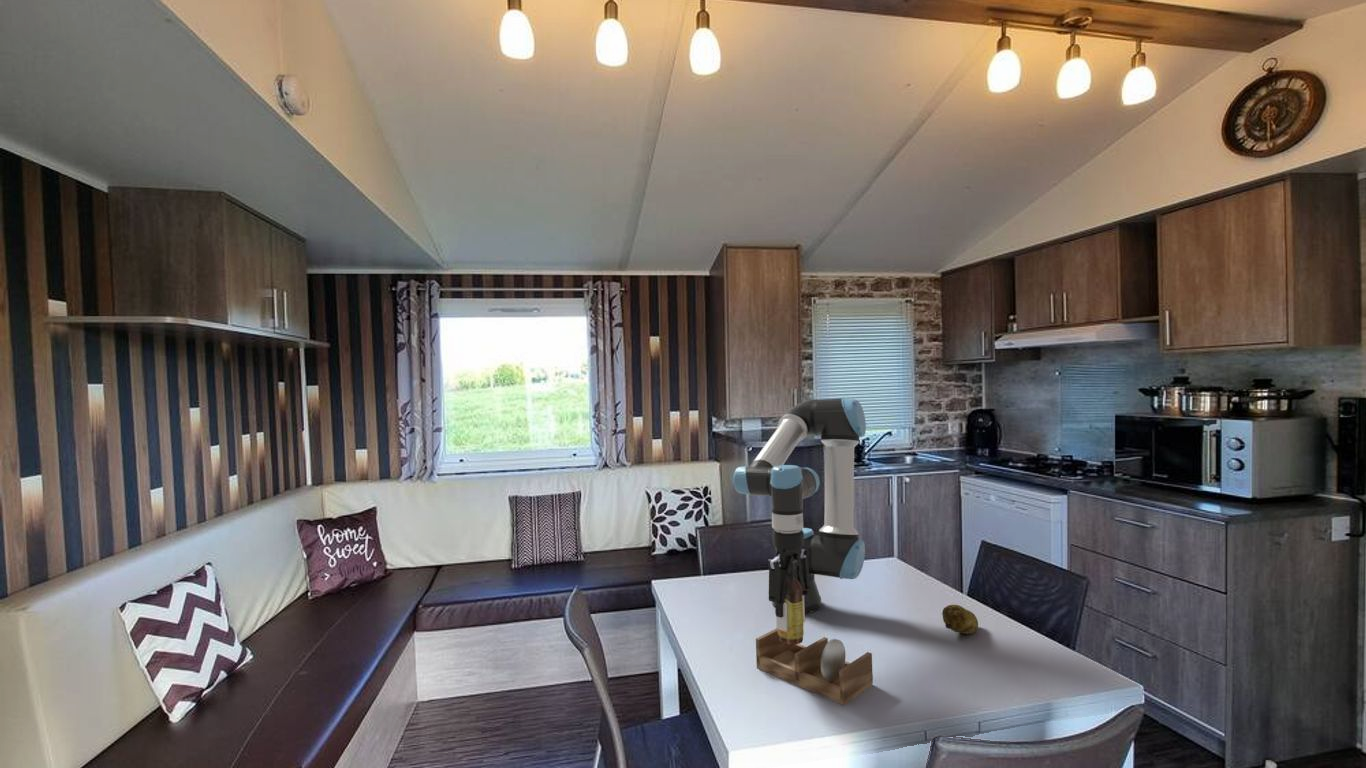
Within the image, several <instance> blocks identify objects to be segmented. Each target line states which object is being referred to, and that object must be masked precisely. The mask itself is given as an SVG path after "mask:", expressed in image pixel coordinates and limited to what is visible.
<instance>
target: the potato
mask: <svg viewBox="0 0 1366 768" xmlns="http://www.w3.org/2000/svg"><path fill="white" fill-rule="evenodd" d="M941 615H942V621H943V623H944V625H945V628H946V629H950V630H951V631H953V632H955V633H960V634H963V635H972V634H974V633H975V632H976V631H977V630H978V628H979V621H978V618H977V616H976V615H975V613H973V612H972V611H971V610H968V609H966V608H964V607H962V606H961V605H958V604H949V605H947V606H945V607H943V610H942V613H941Z"/></svg>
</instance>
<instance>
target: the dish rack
mask: <svg viewBox="0 0 1366 768" xmlns="http://www.w3.org/2000/svg"><path fill="white" fill-rule="evenodd" d="M778 636H779V635H778V629H777V627H776V628H774V629H773V630H770V631H768V632H766V633H764V634H762V635H760V636H758V637H755V647H756V648H755V651H756V652H755V653H756V656H755V657H756V668H757V669H758V670H761V671H763V672H766V673H768V674H770V675H773V676H775V677H777V678H779V679H782V680H785V681H786V682H789V683H790V684H791V683H792V684H794V685H795V686H798V687H800V688H803V689H805V690H808V691H810V692H812V693H814V694H816V695H819V696H822V697H824V698H826V699H828V700H831V701H832V702H835V703H837V704H840V705H843V706H846V705H847V704H849V703H850V702H851V701H853V700H854V699H856V698H857V697H858V696H859V695H861V694H863V692H865V691H866V690H867V689H869V688H871V686H873V684H874V679H873V678H874V677H873V675H874V674H873V653H872V652H869V651H867V652H865V653H864V654H862V655H861V656H859V657H858V658H857V659H854V660H853V661H852V662H849V661H847V660H846V648H845V645H844V643H843V642H842V641H841V640H840V639H836V638H832V639H830V640H828V639H829V638H827V637H825V636H824V637H822V638H820V639H818V640H816V641H815V642H813V643H811V644H808V645H807V646H806V645H802V644H801V643H800V644H796V645H789V644H788V645H787V644H784V643H783V642H781V641H780V640H779V638H778Z"/></svg>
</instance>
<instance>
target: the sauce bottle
mask: <svg viewBox="0 0 1366 768" xmlns="http://www.w3.org/2000/svg"><path fill="white" fill-rule="evenodd" d="M797 566H798V561H797V560H796V559H794V561H793V562H792V563H791V574H790V575H789V576H788V582H787V589H786V595H785V603H787V620H788V631H786V632H785V631H782V630H780V629H778V635H779V636H778V638H779V640H780V641H781V642H783V643H784V644H787V645H788V644H789V645H796V644H800V645H801V643H803V640H804V635H805V634H804V633H805V631H804V623H803V598H802V586H801V584H800V582H799V581H798V579H797V577H798V576H797ZM782 570H785V571H786V570H787V569H782Z"/></svg>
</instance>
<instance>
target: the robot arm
mask: <svg viewBox="0 0 1366 768" xmlns="http://www.w3.org/2000/svg"><path fill="white" fill-rule="evenodd" d="M865 416H866V415H865V413H864V410H863V406H862V404H861V403H860V401H858V399H856V398H855V399H853V398H844V397H843V398H824V399H823V398H822V399H817V398H816V399H815V398H814V399H807V400H804V401H802V402H799V403H797V404H796V405H794V406H792V407H791V408H790V409H788V410H787V411H786V412H785V413H784V414H783V415H781V417H780V418H779V420H778V423H777V428H776V429H775V431H774V432H773V434H772V435H771V436H770V438H769V439H768V441H767V442H766V444H764V446H763V447H762V448H761V450H760V452H759V453H758V454H757V456H755V458H754V460H753V461H752V462H751V463H750V465H749V466H746V465H744V466H738V467H736V469H735V470H734V473H733V476H732V477H733V478H732V483H733V488H734V489H735V492H736V493H738V494H742V495H746V496H747V495H748V496H760V497H763V496H764V497H770V498H771V527H772V529H773V530H772V545H773V547H775V554H774V555H775V556H774V558H773V559H771V558H768V560H767V565H768V601H769V602H771V603H772V606H773V607H774V609H775V610H774V611H775V617H776V618H775V619H776V628H777V629H780V630H782V631H785V632H786V631H788V620H787V603H785V595H786V589H787V582H788V576H789V575H790V574H791V563H792V562H793V561H794V559H796V560H797V561H798V566H797V576H798V577H797V579H798V581H799V582H800V584H801V586H802V598H803V624H804V623H805V622H806V618H805V617H806V614H807V613H812V612H815V611H818V610H820V609H821V608H822V597H821V594H820V591H819V588H818V585H817V583H816V580H815V578H816V577H815V575H817V576H825V577H832V578H837V579H838V578H839V579H840V580H843V579H844V580H845V579H846V580H855V579H857V578H858V577H859V576H860V574H861V572H862V569H863V567H864V562H865V557H866V544H865V542H864V540H863V539H861V538H860V537H859V535H860V534H859V532H858V531H857V530H856V528H855V527H854V519H855V518H854V515H855V514H854V513H855V512H854V506H855V505H854V504H855V503H854V501H855V500H854V499H855V498H854V497H855V493H854V491H855V490H854V489H855V447H857V445H858V444H860V438H862V437H864V436H865V434H866V429H867V426H866V424H867V423H866V422H867V421H866V417H865ZM808 436H809V437H810V436H811V437H812V436H817V437H819V436H820V442H821V443H822V444H823V445H824V446H825V461H824V463H825V466H824V467H825V468H824V469H825V471H824V474H825V475H824V476H825V477H824V520H823V521H824V524H823V526H822V527H820V528H819V530H818V534H815V532H814V531H813V529H812V528H810V527H809V528H808V527H804V499H807V498H810V497H812V496H813V495H815V493H816V492H817V491H818V490H819V487H820V483H821V482H820V477H819V475H818V473H817V472H816V471H815V470H814V469H812V468H810V467H800V466H799V465H796V464H795V465H793V464H785V463H786V461H788V459H789V457H790V455H791V454H792V452H793V451H794V450H795V448H796V446H797V445H798V444H799V442H801V441H803V440H805V438H806V437H808ZM782 569H787V570H786V571H785V570H782Z"/></svg>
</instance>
